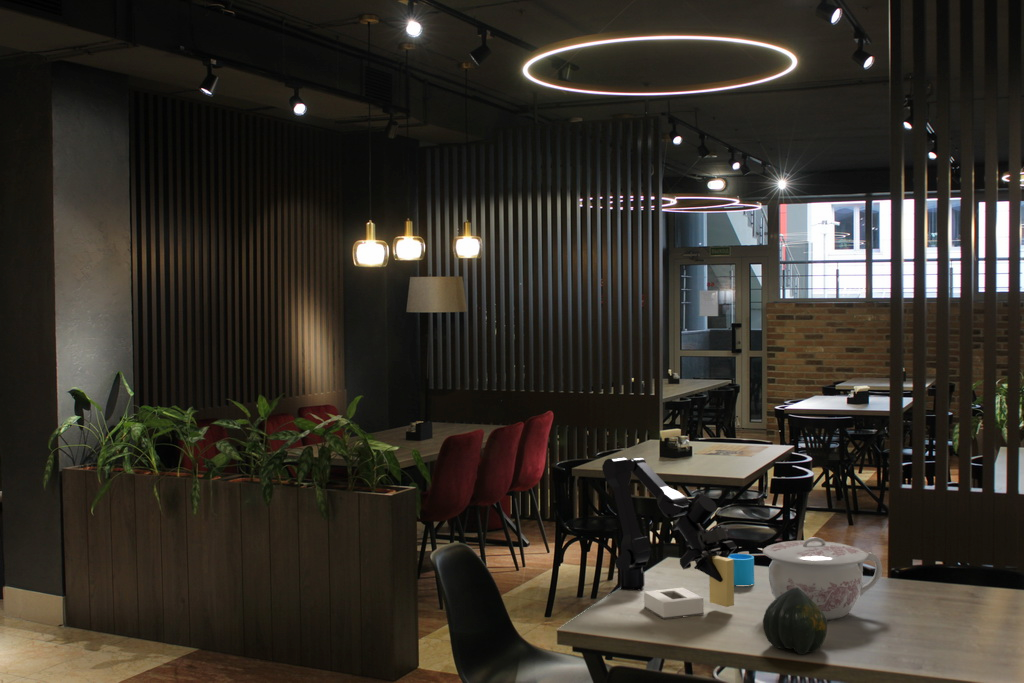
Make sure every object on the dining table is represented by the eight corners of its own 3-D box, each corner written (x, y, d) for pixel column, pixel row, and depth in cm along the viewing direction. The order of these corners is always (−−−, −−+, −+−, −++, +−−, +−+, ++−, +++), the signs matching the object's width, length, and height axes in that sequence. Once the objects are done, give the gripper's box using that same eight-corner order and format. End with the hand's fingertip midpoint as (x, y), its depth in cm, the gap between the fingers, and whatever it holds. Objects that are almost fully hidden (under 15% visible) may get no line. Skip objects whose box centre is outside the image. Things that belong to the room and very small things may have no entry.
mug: (751, 579, 310) (751, 553, 309) (756, 586, 301) (756, 559, 301) (712, 580, 310) (711, 553, 310) (716, 587, 302) (716, 560, 302)
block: (709, 602, 278) (709, 557, 277) (716, 600, 279) (716, 555, 279) (726, 607, 273) (726, 561, 273) (733, 604, 275) (733, 559, 275)
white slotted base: (644, 607, 281) (644, 591, 281) (682, 603, 285) (682, 587, 285) (663, 619, 270) (663, 602, 270) (703, 614, 273) (703, 598, 273)
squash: (783, 640, 233) (814, 586, 237) (742, 626, 246) (772, 575, 251) (820, 674, 237) (850, 620, 242) (778, 658, 251) (807, 607, 255)
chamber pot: (744, 615, 272) (743, 539, 272) (792, 594, 292) (791, 523, 292) (843, 635, 253) (842, 553, 253) (887, 611, 273) (886, 535, 273)
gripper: (687, 521, 273) (719, 568, 265) (731, 512, 285) (763, 557, 276) (665, 545, 279) (696, 592, 271) (709, 535, 291) (740, 580, 283)
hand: (725, 580), depth 275 cm, fingers closed on block, 3 cm apart
